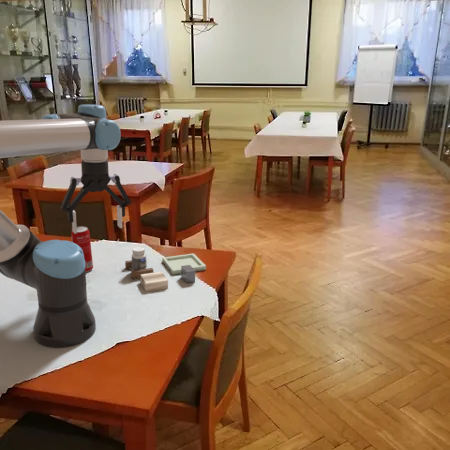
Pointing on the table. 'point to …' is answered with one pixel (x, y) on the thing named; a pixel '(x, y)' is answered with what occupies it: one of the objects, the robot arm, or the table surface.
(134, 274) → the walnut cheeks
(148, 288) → the beige grooved block
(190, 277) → the bench dog
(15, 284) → the table surface
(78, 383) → the table surface
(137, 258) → the pill bottle
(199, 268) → the tray
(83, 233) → the beverage can
